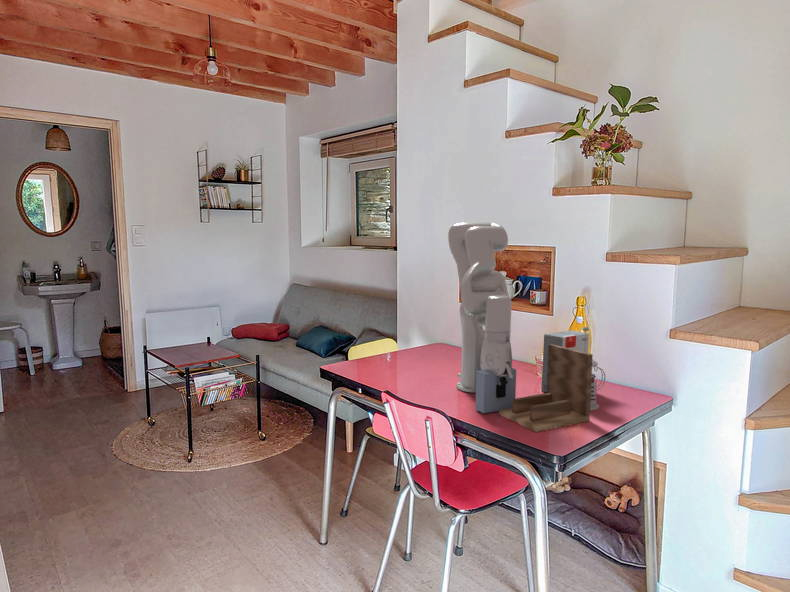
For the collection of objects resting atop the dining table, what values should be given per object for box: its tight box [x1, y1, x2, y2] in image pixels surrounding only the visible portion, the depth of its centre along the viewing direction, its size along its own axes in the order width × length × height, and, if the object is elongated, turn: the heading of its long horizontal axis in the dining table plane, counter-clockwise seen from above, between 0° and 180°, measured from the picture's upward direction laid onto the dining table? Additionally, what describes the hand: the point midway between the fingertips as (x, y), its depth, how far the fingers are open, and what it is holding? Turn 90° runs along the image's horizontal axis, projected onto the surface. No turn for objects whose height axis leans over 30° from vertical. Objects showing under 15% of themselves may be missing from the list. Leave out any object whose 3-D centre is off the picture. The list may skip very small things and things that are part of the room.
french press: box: [582, 326, 606, 411], centre depth 167 cm, size 10×12×25 cm
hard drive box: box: [540, 330, 590, 393], centre depth 183 cm, size 16×8×20 cm, turn 126°
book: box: [475, 367, 517, 414], centre depth 163 cm, size 4×12×12 cm, turn 117°
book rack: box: [498, 344, 593, 433], centre depth 155 cm, size 16×20×20 cm
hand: (495, 394), depth 163 cm, fingers closed on book, 4 cm apart
